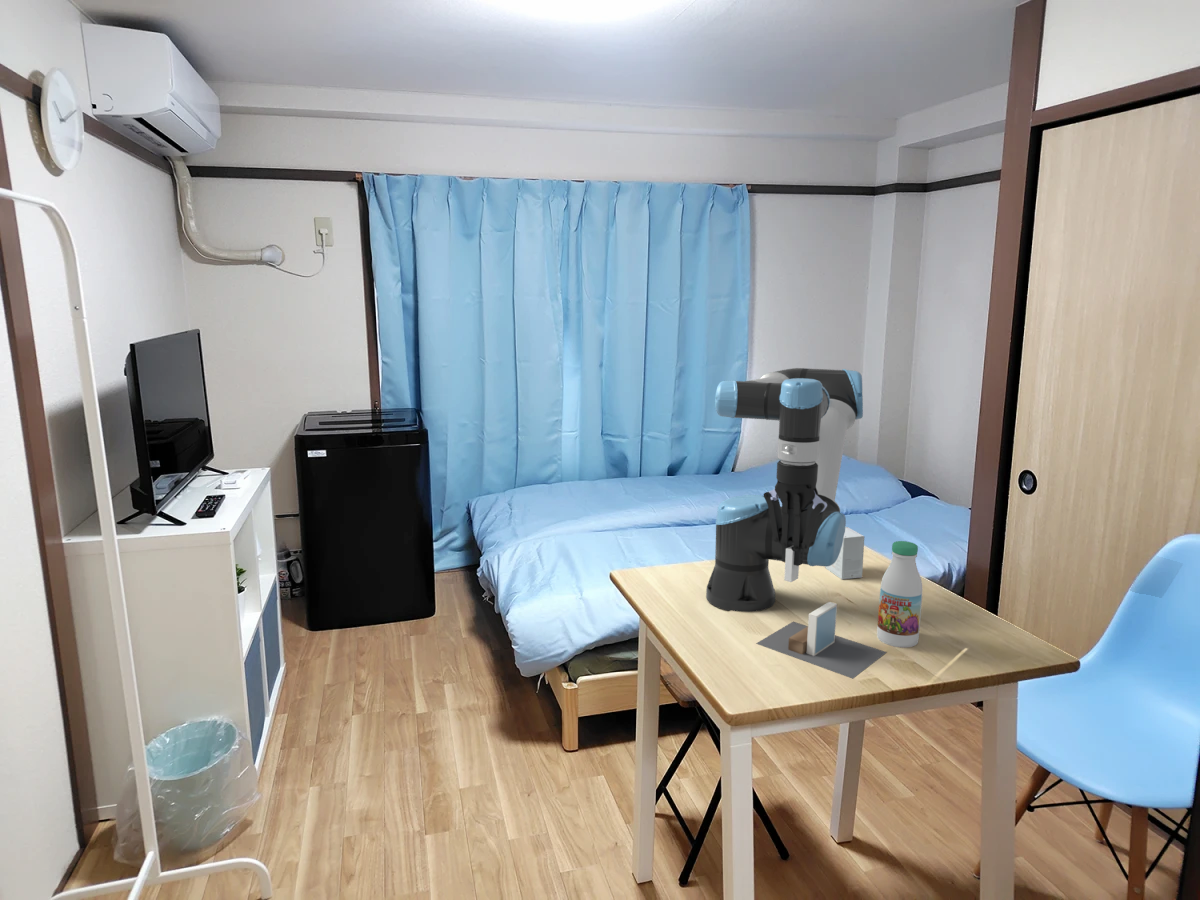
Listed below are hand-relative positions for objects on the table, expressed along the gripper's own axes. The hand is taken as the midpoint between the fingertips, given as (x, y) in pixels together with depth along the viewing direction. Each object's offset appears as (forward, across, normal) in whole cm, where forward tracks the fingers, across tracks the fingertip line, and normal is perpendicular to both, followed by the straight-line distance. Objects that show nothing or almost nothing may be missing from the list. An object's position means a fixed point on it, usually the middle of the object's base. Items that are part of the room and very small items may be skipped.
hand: (791, 579), depth 152 cm
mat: (+13, +7, 0) cm, 14 cm away
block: (+12, +4, 0) cm, 13 cm away
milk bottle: (+13, +16, +14) cm, 25 cm away
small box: (+13, -9, +41) cm, 44 cm away
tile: (+12, +7, 0) cm, 14 cm away
